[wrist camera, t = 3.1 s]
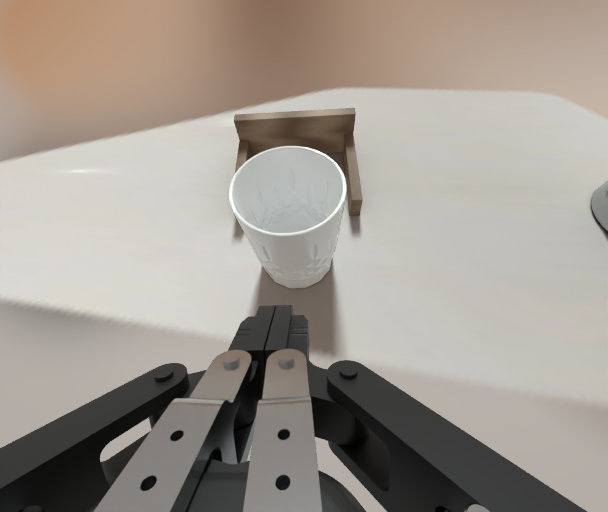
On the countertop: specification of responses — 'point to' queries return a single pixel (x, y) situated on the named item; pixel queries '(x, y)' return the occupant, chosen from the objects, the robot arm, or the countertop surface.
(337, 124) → the walnut bay
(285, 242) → the white cup
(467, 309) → the countertop surface
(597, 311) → the countertop surface
